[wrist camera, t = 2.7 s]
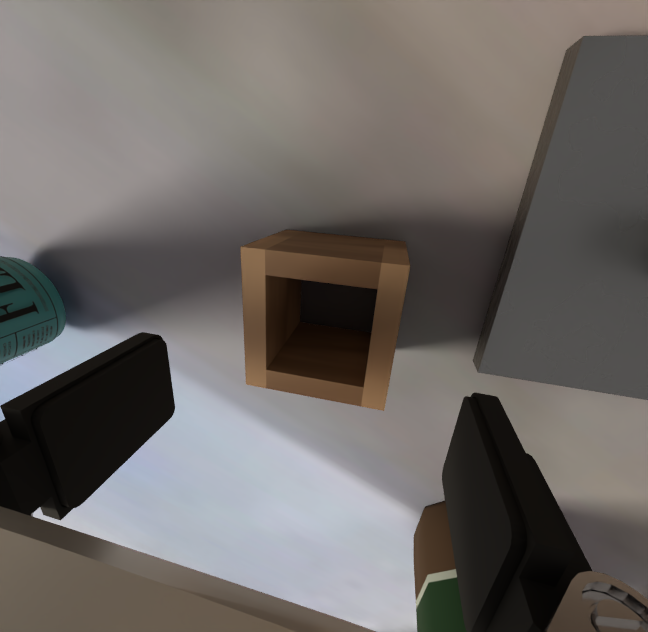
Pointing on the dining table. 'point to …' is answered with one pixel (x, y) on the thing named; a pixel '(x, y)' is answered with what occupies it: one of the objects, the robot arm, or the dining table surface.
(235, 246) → the dining table surface
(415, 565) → the beer bottle
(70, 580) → the robot arm
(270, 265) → the walnut collar
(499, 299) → the post block
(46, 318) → the beverage bottle
